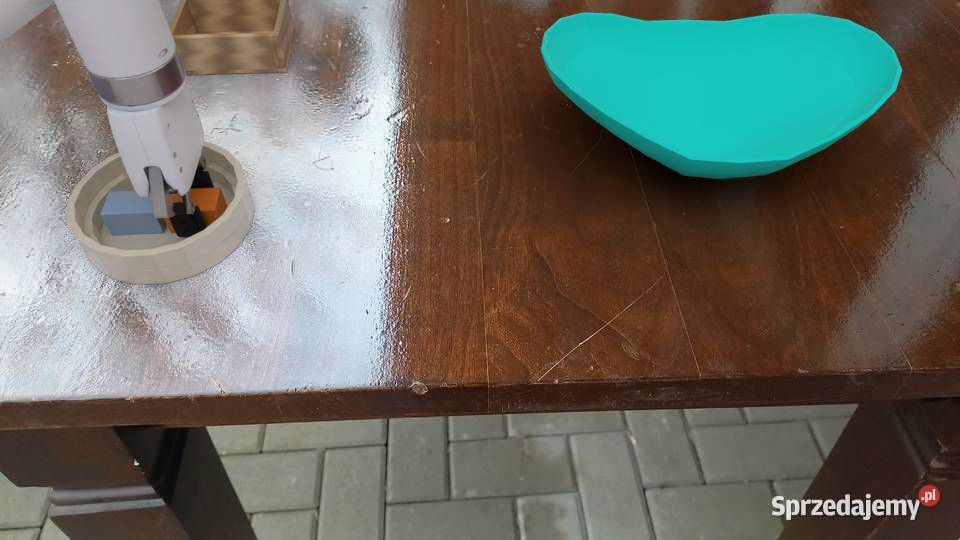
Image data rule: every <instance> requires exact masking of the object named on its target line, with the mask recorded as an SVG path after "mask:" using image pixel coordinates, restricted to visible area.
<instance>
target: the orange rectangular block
mask: <svg viewBox="0 0 960 540" xmlns="http://www.w3.org/2000/svg"><path fill="white" fill-rule="evenodd" d="M190 192H191V196H192V199H193V203H194V206H199V208H200V211H201V213H202V216H203V218H204V221H205V223H206V225H207V227H208V226H209V225H211V224H212V223H213V222H214V221H216V220H217V219H218V218H219V217H220V216H222V215H223V213H224V212H225V211H226V209H227V208H228V207H227V204H226V201H225V199H224V196H223V193H222V190H221V188H196V189H190ZM169 196H170V201H171V202H183V200H182V196H181V195H180V194H169ZM164 219H165V221H166V223H167V226H168V228H169V230H170V232H171V233H176V232H175V230H174V228H173V226H172V224H171V222H170V219H169V218H164Z"/></svg>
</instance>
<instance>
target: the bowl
mask: <svg viewBox="0 0 960 540" xmlns="http://www.w3.org/2000/svg"><path fill="white" fill-rule="evenodd" d="M201 152H202V154H203V156H204V158H205V160H206V163H207V168H206V170H203V171H208V172H209V174H210V177H211V180H212V182H213V185H214V188H221V190H222V193H223V196H224V199H225V201H226V204H227V207H228V208H227V209H226V211H225V212H224V213H223V215H222V216H220V217H219V218H218V219H217V220H216V221H214V222H213V223H212V224H211V225H209V226H208V227H207V228H206V229H204V230H203V231H201V232H199V233H197V234H195V235H193V236H191V237H178V236H177V235H176V233H171V232H170V230H169V228H168V226H167V225H166V228H165V232H164V233H161V234H136V235H111V233H110V231H109V229H108V228H107V226H106V224H105V222H104V221H103V219H102V217H101V215H100V214H101V211H102V209H103V206H104V204H105V201H106V198H107V196H108V193H109V192H116V191H135V189H134V187H133V185H132V183H131V180H130V178H129V176H128V173H127V171H126V169H125V166H124V164H123V161H122V159H121V156H120V154H119V152H116V153H113V154H111V155H110V156H108V157H107V158H105V159H104V160H102V161H101V162H99V163H98V164H97V165H95V166H92V168H90V170H88V172H87V173H86V174H85V175H84V176H83V177H81V179H80V180H79V181H78V182H77V183H76V185H74V187H73V189H72V192H71V194H70V196H69V198H68V201H67V203H66V225H67V226H68V228H69V229H70V231H71V233H72V234H73V236H74V237H75V239H76V240H77V242H78V244H79V246H80V247H81V249H82V250H83V252H84V253H85V255H86V256H87V258H88V260H89V261H90V263H91V264H92V266H93V268H95V270H97V271H99V272H100V273H102V274H103V275H105V276H107V277H109V278H110V279H111V280H115V281H119V282H125V283H128V284H133V285H138V286H140V285H141V286H144V285H162V284H164V285H165V284H170V283H173V282H178V281H180V280H183V279H188V278H191V277H196V276H198V275H199V274H201V273H203V272H205V271H207V270H209V269H211V268H212V267H215V266H217V265H219V264H220V263H222V262H223V261H224V260H225V259H226V258H227V257H229V256H230V255H231V254H232V253H233V252H235V251H236V250H237V249H238V248H239V247H240V246H241V244H242V243H243V241H244V239H245V238H246V237H247V235H248V233H249V232H250V231H251V229H252V226H253V221H254V215H255V211H256V209H255V206H254V202H253V198H252V195H251V191H250V188H249V185H248V181H247V179H246V175H245V173H244V170H243V166H242V164H241V163H240V162H239V161H238V159H236V157H235V156H234V155H233V154H232V153H231V151H229V150H227V149H225V148H223V147H221V146H219V145H216V144H215V143H213V142H209V141H205V140H204V142H203V147H202V151H201Z"/></svg>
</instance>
